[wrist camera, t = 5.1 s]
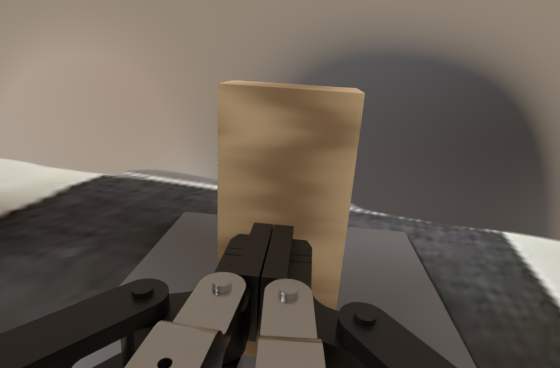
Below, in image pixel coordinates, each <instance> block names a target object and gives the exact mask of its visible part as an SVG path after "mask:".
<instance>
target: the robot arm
mask: <svg viewBox="0 0 560 368" xmlns="http://www.w3.org/2000/svg"><path fill="white" fill-rule="evenodd" d="M293 233H294V226H288V225H278V224H275V225H273V224H267V223H257V222H254V224H253V227H252V229H251V232H250V234H249V235H248V234H238V235H236V236H235V237H233V238H232V239H230V241H229V243H228V245H227V248H226V249H225V252H224V254H223V256H222V258H221V260H220V262H219V264H218V266H217V268H216V270H215V272H214V273H213V274H209V275H207V276H205V277H204V278H202V279H201V280H200V282H199V283H198V285H197V286H196V287H195V289H194V290H193V291H189V292H181V293H171V294H169V287H168V285H167V284H166V283H165V282H163V281H161V280H158V279H153V278H145V279H139V280H135V281H132V282H129V283H127V284H124V285H122V286H119V287H117V288H114V289H112V290H109V291H107V292H104V293H102V294H99V295H97V296H94V297H92V298H89V299H87V300H84V301H82V302H79V303H77V304H74V305H72V306H69V307H67V308H64V309H62V310H59V311H57V312H54V313H52V314H49V315H47V316H44V317H42V318H39V319H37V320H34V321H32V322H29V323H27V324H24V325H22V326H19V327H17V328H14V329H12V330H9V331H7V332H4V333H1V334H0V368H72V367H73V365H74V364H75V363H76V362H78V361H79V360H80V359H82V358H84V357H86V356H88V355H90V354H92V353H94V352H96V351H98V350H100V349H102V348H104V347H106V346H108V345H110V344H112V343H114V342H116V341H118V340H120V341H121V350H122V352H121V353H119V354H117V355H115V356H113V357H111V358H109V359H107V360H105V361H104V362H102V363H100V364H98V365H96V366H94V367H92V368H241V367H242V364H243V355H244V352H245V349H246V345H247V341H253V342H256V339H257V334H258V349H257V358H256V367H255V368H457V367H456V366H454V365H453V364H452V363H450V362H449V361H448V360H447V359H445V358H444V357H443V356H441V355H440V354H439V353H437V352H436V351H435V350H434V349H432V348H431V347H430V346H428V345H427V344H426V343H424V342H423V341H422V340H421V339H419V338H418V337H417V336H415V335H414V334H413V333H411V332H410V331H409V330H408V329H406V328H405V327H404V326H402V325H401V324H400V323H398V322H397V321H396V320H395V319H393V318H392V317H391V316H389V315H388V314H387V313H385V312H384V311H383V310H381V309H380V308H378V307H376V306H374V305H372V304H368V303H364V302H351V303H348V304H345V305H344V306H342V307H341V308H340V310H339V311H337V310H334V309H331V308H329V307H326V306H325V305H323V304H321V303H320V302H319V301H317V300H316V298H315V297H314V296H313V294H312V290H311V284H312V247H311V245H310V244H309V243H308V241H307V240H299V239H293ZM258 330H259V333H258Z"/></svg>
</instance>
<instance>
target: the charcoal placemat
mask: <svg viewBox="0 0 560 368" xmlns="http://www.w3.org/2000/svg"><path fill="white" fill-rule="evenodd" d="M217 266H218V215H216V214H205V213H195V212H184V213H183V214H182V215H181V216H180V218H179V219H178V220H177V221H176V222H175V223H174V224H173V226H172V227H171V228H170V229H169V230H168V231H167V232H166V233H165V235H164V236H163V237H162V238H161V239H160V240H159V241H158V243H157V244H156V245H155V246H154V247H153V248H152V249H151V250H150V252H149V253H148V254H147V255H146V256H145V257H144V258H143V260H142V261H141V262H140V263H139V264H138V265H137V266H136V267H135V269H134V270H133V271H132V272H131V273H130V274H129V275H128V277H127V278H126V279H125V280H124V281H123V282H122V283H121V284H120V286H122V285H124V284H127V283H129V282H132V281H135V280H139V279H145V278H153V279H158V280H161V281H163V282H165V283H166V284H167V285H168V287H169V294H171V293H181V292H189V291H193V290H194V289H195V287H196V286H197V285H198V283H199V282H200V280H201V279H202V278H204V277H205V276H207V275H209V274H213V273H214V272H215V270H216V268H217ZM351 302H364V303H368V304H372V305H374V306H376V307H378V308H380V309H381V310H383V311H384V312H385V313H387V314H388V315H389V316H391V317H392V318H393V319H395V320H396V321H397V322H398V323H400V324H401V325H402V326H404V327H405V328H406V329H408V330H409V331H410V332H411V333H413V334H414V335H415V336H417V337H418V338H419V339H421V340H422V341H423V342H424V343H426V344H427V345H428V346H430V347H431V348H432V349H434V350H435V351H436V352H437V353H439V354H440V355H441V356H443V357H444V358H445V359H447V360H448V361H449V362H450V363H452V364H453V365H454V366H456V367H457V368H477V367H476V365H475V364H474V362H473V360H472V358H471V356H470V354H469V352H468V350H467V348H466V347H465V345H464V343H463V341H462V339H461V337H460V335H459V333H458V331H457V330H456V328H455V326H454V324H453V322H452V320H451V318H450V316H449V314H448V313H447V311H446V309H445V307H444V305H443V303H442V301H441V299H440V297H439V296H438V294H437V292H436V290H435V288H434V286H433V284H432V282H431V280H430V279H429V277H428V275H427V273H426V271H425V269H424V267H423V265H422V264H421V262H420V260H419V258H418V256H417V254H416V252H415V250H414V248H413V247H412V245H411V243H410V241H409V239H408V237H407V235H406V233H405V232H398V231H387V230H376V229H366V228H355V227H347V232H346V240H345V247H344V255H343V262H342V270H341V277H340V285H339V293H338V300H337V308H336V310H337V311H339V310H340V308H341V307H342V306H344V305H345V304H348V303H351ZM121 352H122V350H121V341H120V340H118V341H116V342H114V343H112V344H110V345H108V346H106V347H104V348H102V349H100V350H98V351H96V352H94V353H92V354H90V355H88V356H86V357H84V358H82V359H80V360H79V361H78V362H76V363H75V364H74V365H73V367H72V368H92V367H94V366H96V365H98V364H100V363H102V362H104V361H105V360H107V359H109V358H111V357H113V356H115V355H117V354H119V353H121ZM256 358H257V357H256V356H247V355H243V364H242V367H241V368H255V367H256Z"/></svg>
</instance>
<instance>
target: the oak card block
mask: <svg viewBox="0 0 560 368" xmlns="http://www.w3.org/2000/svg"><path fill="white" fill-rule="evenodd" d="M364 96H365V93H363V92H362V91H360V90H358V89H356V88H342V87H328V86H312V85H297V84H282V83H266V82H252V81H237V80H233V81H228V82H223V83H219V84H218V264H219V262H220V260H221V258H222V256H223V254H224V252H225V249H226V248H227V245H228V243H229V241H230V239H232V238H233V237H235V236H236V235H238V234H248V235H249V234H250V232H251V229H252V227H253V224H254V222H257V223H267V224H273V225H275V224H278V225H288V226H294V233H293V239H299V240H307V241H308V243H309V244H310V245H311V247H312V284H311V290H312V294H313V296H314V297H315V298H316V300H317V301H319V302H320V303H321V304H323V305H325V306H326V307H329V308H331V309H334V310H336V308H337V300H338V293H339V285H340V277H341V270H342V262H343V255H344V247H345V240H346V232H347V225H348V217H349V209H350V202H351V193H352V186H353V179H354V171H355V164H356V157H357V148H358V141H359V134H360V126H361V119H362V111H363V104H364ZM258 333H259V330H258ZM257 349H258V334H257V339H256V342H253V341H247V345H246V349H245V352H244V355H247V356H256V357H257Z"/></svg>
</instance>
